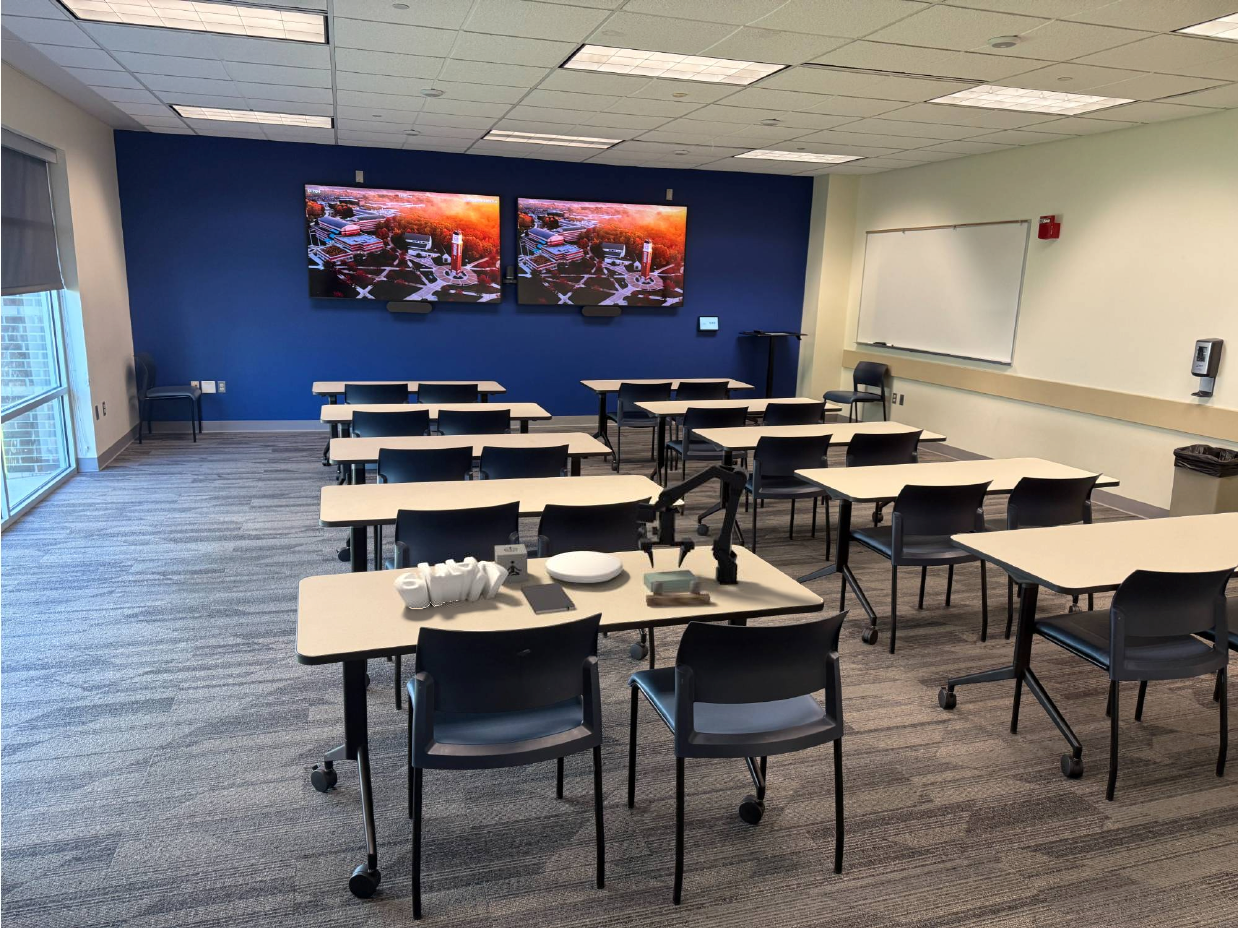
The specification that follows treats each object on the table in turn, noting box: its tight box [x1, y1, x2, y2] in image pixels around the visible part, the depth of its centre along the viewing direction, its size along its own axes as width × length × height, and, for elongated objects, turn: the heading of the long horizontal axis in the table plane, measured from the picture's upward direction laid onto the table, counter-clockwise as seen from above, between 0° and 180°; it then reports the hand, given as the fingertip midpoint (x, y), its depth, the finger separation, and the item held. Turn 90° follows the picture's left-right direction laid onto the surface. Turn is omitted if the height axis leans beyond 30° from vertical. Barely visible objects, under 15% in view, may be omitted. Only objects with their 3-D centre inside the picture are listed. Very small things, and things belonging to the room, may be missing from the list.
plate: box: [544, 550, 624, 584], centre depth 279 cm, size 28×6×27 cm
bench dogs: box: [645, 579, 711, 607], centre depth 256 cm, size 20×6×6 cm, turn 96°
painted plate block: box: [643, 569, 698, 593], centre depth 270 cm, size 16×8×4 cm, turn 106°
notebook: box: [520, 582, 576, 615], centre depth 257 cm, size 13×2×21 cm
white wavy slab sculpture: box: [393, 556, 509, 608], centre depth 256 cm, size 35×16×11 cm, turn 113°
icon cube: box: [494, 543, 529, 584], centre depth 275 cm, size 10×10×10 cm
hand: (665, 567), depth 279 cm, fingers open, 9 cm apart
